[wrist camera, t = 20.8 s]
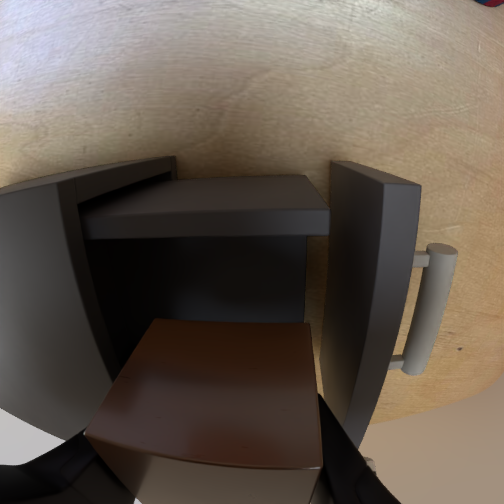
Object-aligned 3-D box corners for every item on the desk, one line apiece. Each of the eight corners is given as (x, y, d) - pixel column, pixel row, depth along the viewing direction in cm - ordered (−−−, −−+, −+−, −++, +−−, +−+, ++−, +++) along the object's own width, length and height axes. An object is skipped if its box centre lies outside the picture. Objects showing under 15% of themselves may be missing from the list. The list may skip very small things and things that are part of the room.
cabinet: (175, 155, 17) (56, 181, 7) (200, 354, 22) (159, 470, 12) (7, 185, 19) (-88, 222, 9) (46, 332, 24) (-16, 398, 14)
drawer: (419, 165, 15) (519, 196, 7) (389, 354, 20) (424, 449, 11) (96, 175, 17) (-9, 209, 9) (133, 349, 22) (83, 431, 13)
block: (300, 419, 11) (300, 528, 6) (181, 412, 11) (147, 510, 6) (309, 321, 9) (323, 467, 4) (154, 316, 9) (81, 433, 5)
